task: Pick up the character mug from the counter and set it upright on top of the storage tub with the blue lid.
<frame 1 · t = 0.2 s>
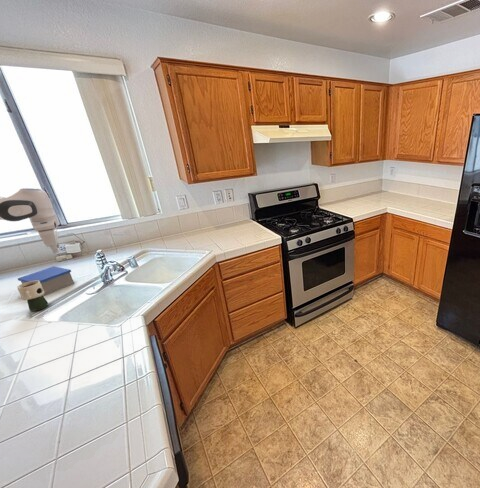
hand: (56, 250, 127), 24 cm above the countertop, tool pointing down, fingers open, 8 cm apart
storage tub: (50, 287, 142), on the countertop
character mug: (40, 308, 123), on the countertop
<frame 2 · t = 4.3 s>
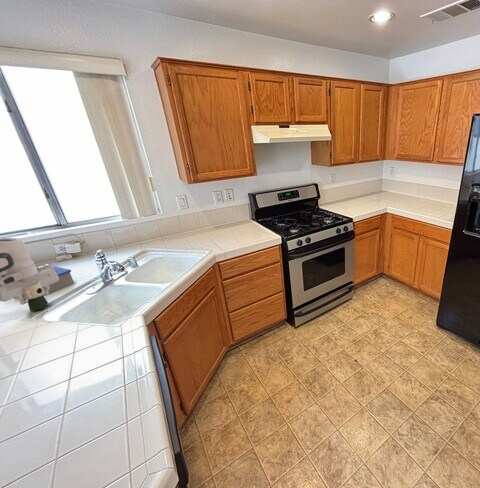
hand: (35, 299, 121), 5 cm above the countertop, tool pointing down, fingers closed on character mug, 6 cm apart
character mug: (40, 308, 123), on the countertop, touching gripper
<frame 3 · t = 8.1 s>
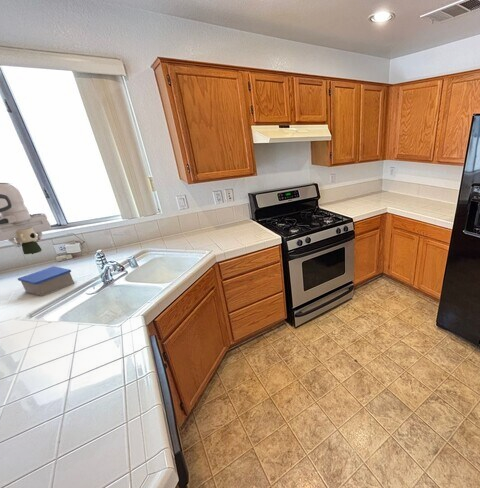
hand: (29, 243, 130), 26 cm above the countertop, tool pointing down, fingers closed on character mug, 6 cm apart
character mug: (33, 253, 132), point 21 cm above the countertop, touching gripper
when the fingers open (13 cm above the countertop, at t = 11.9 s): character mug stays where it is, resting on storage tub.
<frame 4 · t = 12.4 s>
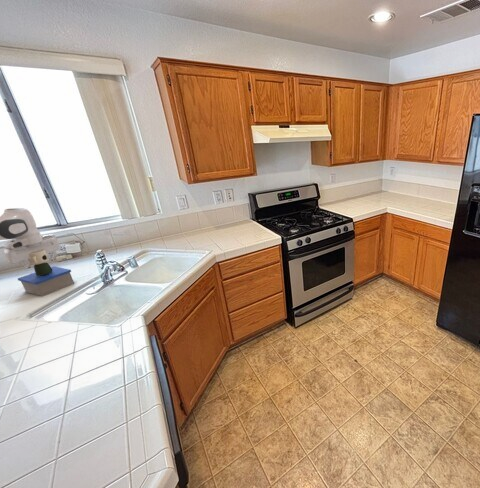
hand: (40, 264, 137), 14 cm above the countertop, tool pointing down, fingers open, 8 cm apart
character mug: (45, 274, 139), point 8 cm above the countertop, touching storage tub
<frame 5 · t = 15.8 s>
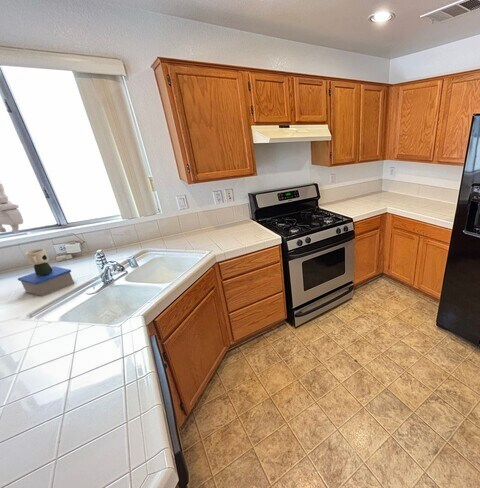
hand: (9, 232, 129), 32 cm above the countertop, tool pointing down, fingers open, 8 cm apart
nothing on the countertop moved.
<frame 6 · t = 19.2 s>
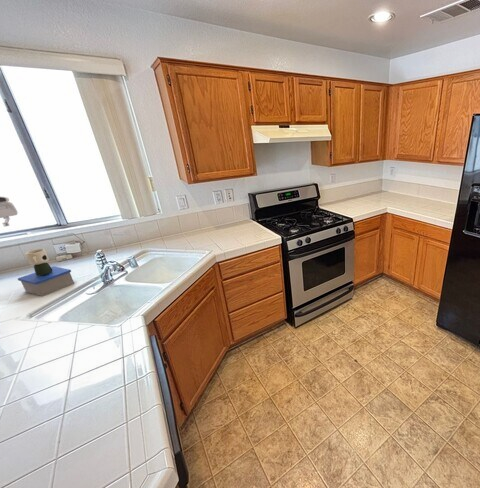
nothing on the countertop moved.
at the end: character mug inside the target area on the storage tub (0.1 cm from its centre), point 8.0 cm above the storage tub's base; character mug tilted 0°; the gripper is holding nothing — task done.
